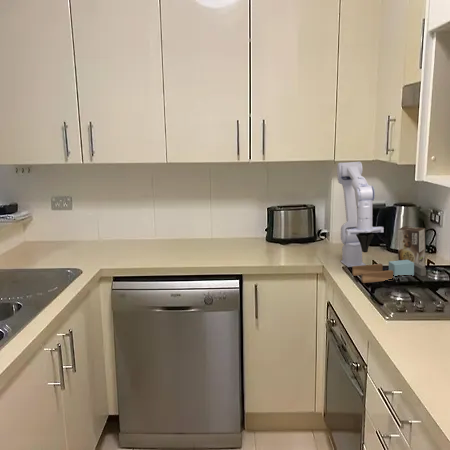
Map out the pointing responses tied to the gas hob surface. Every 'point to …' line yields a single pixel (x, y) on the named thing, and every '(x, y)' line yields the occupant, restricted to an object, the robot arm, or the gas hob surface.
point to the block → (401, 267)
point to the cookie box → (412, 244)
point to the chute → (372, 273)
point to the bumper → (419, 269)
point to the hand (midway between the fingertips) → (364, 251)
